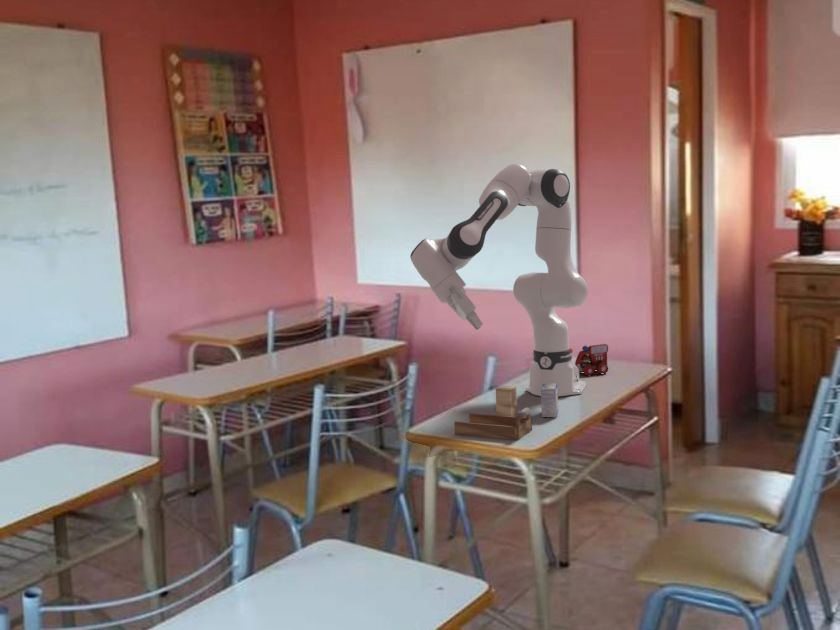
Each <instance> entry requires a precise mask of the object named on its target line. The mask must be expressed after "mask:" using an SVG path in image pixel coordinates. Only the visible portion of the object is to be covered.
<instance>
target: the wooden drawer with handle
mask: <svg viewBox="0 0 840 630" xmlns="http://www.w3.org/2000/svg"><path fill="white" fill-rule="evenodd" d="M531 412H532V411H531V408H530V407H524V408H523V409H521V410H519V411H517V413H516V415H515V417H513V416H500V415H497V414H489V413H487V414H485V413H474V412H470V413H469V415H468V416H469V422H467V421H454V425H453V426H454V435H456V434H459V436H467V435H468V437H469V436H471V437H479V438H480V437H481V438H489V439H490V438H491V439H499V438H501V439H502V440H510V439H515V440H514V441H519V440H521V439H522V438H523V437H525V436H527V435H528V434H529V433H531V432H532V431H533V418H532V417H531ZM531 430H532V431H531ZM530 431H531V432H530ZM527 433H528V434H527ZM524 435H525V436H524ZM501 439H500V440H501Z"/></svg>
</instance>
